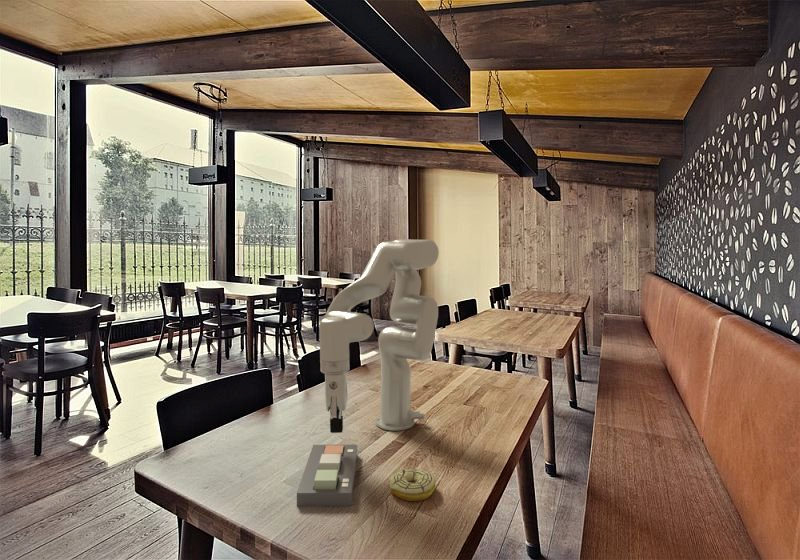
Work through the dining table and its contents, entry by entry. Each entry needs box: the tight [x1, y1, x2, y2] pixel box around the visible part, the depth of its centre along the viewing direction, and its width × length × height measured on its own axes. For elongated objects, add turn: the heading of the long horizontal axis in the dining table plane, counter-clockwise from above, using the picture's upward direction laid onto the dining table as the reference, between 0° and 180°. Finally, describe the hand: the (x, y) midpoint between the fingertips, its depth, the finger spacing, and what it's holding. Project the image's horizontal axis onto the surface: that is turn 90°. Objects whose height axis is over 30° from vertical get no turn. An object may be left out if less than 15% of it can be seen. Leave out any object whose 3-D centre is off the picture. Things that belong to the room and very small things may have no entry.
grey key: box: [319, 454, 341, 472], centre depth 112 cm, size 5×5×3 cm
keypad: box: [296, 444, 358, 507], centre depth 112 cm, size 12×24×3 cm, turn 2°
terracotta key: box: [324, 444, 345, 456], centre depth 120 cm, size 5×5×3 cm
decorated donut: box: [389, 468, 436, 502], centre depth 107 cm, size 10×11×4 cm
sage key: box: [314, 470, 338, 490], centre depth 104 cm, size 5×5×3 cm
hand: (336, 431), depth 120 cm, fingers closed
